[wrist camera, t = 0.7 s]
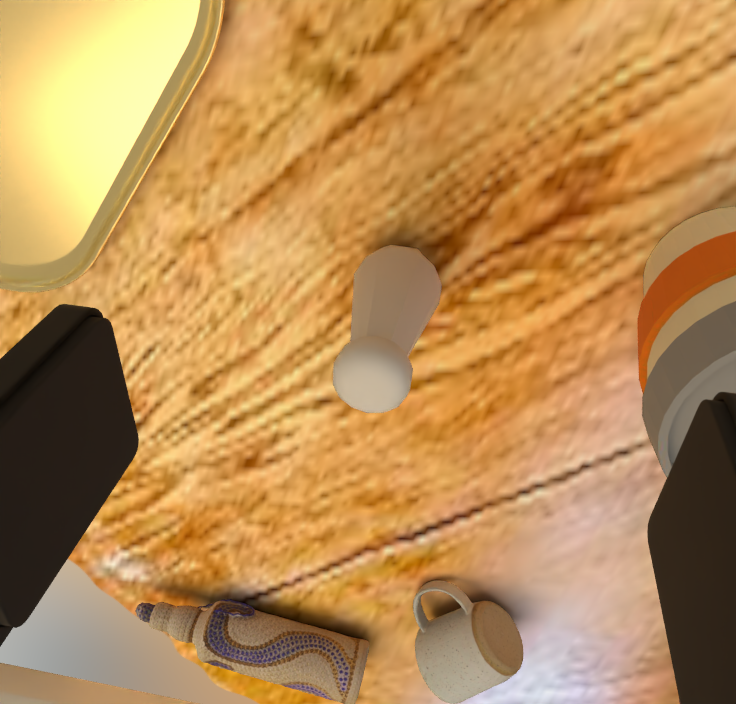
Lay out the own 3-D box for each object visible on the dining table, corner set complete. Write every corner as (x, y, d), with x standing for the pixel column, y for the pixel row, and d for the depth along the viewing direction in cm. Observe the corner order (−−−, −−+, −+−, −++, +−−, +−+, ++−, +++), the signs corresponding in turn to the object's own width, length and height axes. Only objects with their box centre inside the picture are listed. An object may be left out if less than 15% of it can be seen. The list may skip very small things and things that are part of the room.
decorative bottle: (376, 627, 71) (365, 688, 65) (364, 660, 75) (352, 720, 70) (148, 563, 71) (118, 619, 66) (149, 601, 76) (122, 655, 71)
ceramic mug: (529, 619, 65) (530, 696, 59) (469, 645, 69) (464, 719, 63) (453, 563, 62) (445, 637, 56) (396, 593, 67) (383, 665, 60)
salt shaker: (363, 226, 43) (315, 336, 33) (449, 237, 43) (428, 353, 32) (358, 301, 47) (314, 421, 36) (438, 312, 46) (416, 439, 36)
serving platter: (298, -80, 34) (290, -78, 33) (63, 324, 53) (52, 335, 52) (-39, -392, 29) (-64, -404, 28) (-163, 175, 49) (-181, 183, 47)
